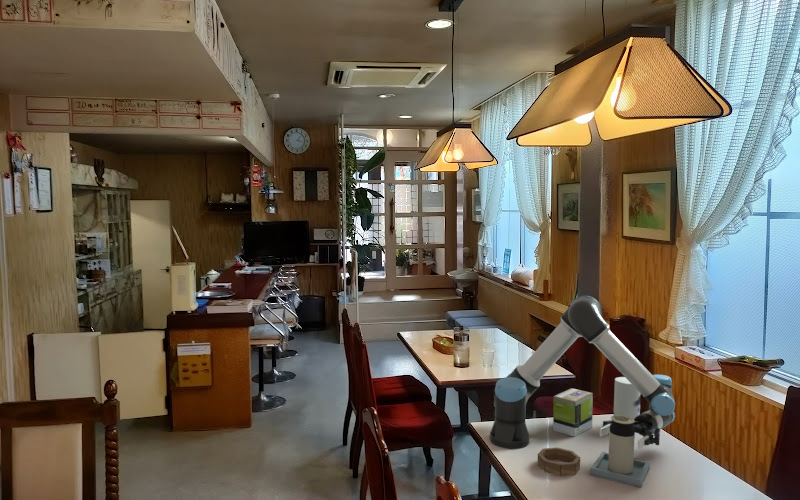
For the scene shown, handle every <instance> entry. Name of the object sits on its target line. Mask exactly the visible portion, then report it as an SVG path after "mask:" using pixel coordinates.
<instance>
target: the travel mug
mask: <svg viewBox="0 0 800 500" xmlns="http://www.w3.org/2000/svg"><path fill="white" fill-rule="evenodd" d="M610 419H611V420H612V424H611V425H610V433H609V438H608V439H609V441H608V453H609V461H608V468H609V469H610V470H611V471H613V472H615V473H619V474H630V473H632V472H633V461H634V459H635V453H634V452H635V436H636V435H635V434H636V433H635V429H634V427H633V423H634V419H633V418H631V417H629V416H625V415H614V414H613V415H612V416H611V417H610Z"/></svg>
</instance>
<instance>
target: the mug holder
mask: <svg viewBox="0 0 800 500" xmlns="http://www.w3.org/2000/svg"><path fill="white" fill-rule="evenodd" d="M555 460H556V461H555ZM557 461H561V462H557ZM536 465H537V466H538V467H539V468H540V470H541V471H542V472H544V473H546V474H551V475H555V476H559V477H568V476H575V475H577V473H578V472H579V471H580V470H581V456H579V455H578V454H576V453H575V452H574V451H573V450H571V449H570V450H569V449H565V448H561V447H548V448H547V447H545V448H542V449H541V450H540V451H539V452H538V453H537V464H536Z"/></svg>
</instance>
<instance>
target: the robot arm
mask: <svg viewBox="0 0 800 500" xmlns="http://www.w3.org/2000/svg"><path fill="white" fill-rule="evenodd" d="M602 315H603V309H602V306H601V304H600V303H599V301H598V300H597V299H596V298H594V297H593V296H590V295H581V296H578V297H576V298H574V300H573V301H572V302H571V304H570V305H569V306H568V308H567V309H566V310H565V311H564V313H562V314H561V316H560V323H559V324H558V325H557V326H556V327H555V328H554V330H553V331H552V332H551V333H550V334H549V335H548V337H546V339H545V340H544V341H543V342H542V343H541V344H540V345H539V347H538V348H536V350H534V352H533V353H532V355H531V356H530V357H529V358H528V359H527V360H526V361H525V362H524V363H523V364H522V365H516V367H515V368H514V369H513V370H512V371H511V373H509V374H508V375H507V376H506V377H503V378H499V379H498V380H497V381H496V383H495V388H494V393H495V394H494V395H495V396H494V397H495V398H494V421H493V424H492V427H491V430H490V431H489V432H490V433H489V441H490V442H491V443H492V444H493V445H495V446H497V447H501V448H506V449H520V448H525V447H527V446H528V445H529V444H530V433H529V430H528V427H527V424H526V412H527V411H526V409H527V403H528V400H529V398H530V397H531V396H532V395H533V394H534V393H535V392H536V391H537V389H538V388H539V387H540V385H541V379H542V378H543V377H544V376H545V375H546V374H547V372H548V371H549V370H550V369H551V368H552V367H553V366H554V365H555V364H556V362H557V361H558V360H559V359H560V358H561V357H562V356H563V355H564V354H565V352H567V350H568V349H569V348H570V347H571V346H572V345H573V344H574V343H575V342H576V341H577V339H578V338H584V340H586V341H587V343H589V344H593V345H594V346H595V347H596V348H597V349H598V350H599V351H600V352H601V353H602V354H603V356H605V358H606V359H608V361H610V363H611V364H612V365H613V366H614V367H615V368H616V369H617V370H618V371H619V373H621V374H622V376H623V377H625V378H626V379H627V380H628V381H629V382H630V383H631V384H632V385H633V386H634V387H635V388H636V389H637V390H638V391H639V392H640V393H641V394H640V395H641V396H643V398H644V399H645V400H646V402H648V410H647V411H644V412H642V413H640V415H638V416H637V417H635V419H634V423H633V427H634V429H635V434H638V435H640V436H642V438H639V439H638V440H637V449H638V450H641V449H643V448H644V447H647V446H650V445H653V444H655V446H660V437H661V429H664V428H667V427H668V426H670V425H671V423H672V422H673V421H675V418H676V413H675V412H674V411H675V407H676V401H675V399H674V395H673V391H672V390H673V380H672V378H671V376H668V375H665V374H652V373H651V372H650V371H649V370H648V369H647V368H646V367H645V366H644V365H643V363H642V362H641V361H640V360H638V358H637V357H635V355H634V354H633V353H632V352H631V351H630V350H629V349H628V348H627V347H626V346H625V345H624V344H623V343H622V342H621V340H619V339H618V337H616V335H615V334H614V333H613V332H612V331H611V330H610V325H609V324H608V323H607V322H606V320H605V318H603V316H602ZM611 424H612V419H611V420H604V421H602V426H601V427H600V428H599V434H598V435H599V437H601V438H602V437H604V436H605V435H608V434H610V425H611Z"/></svg>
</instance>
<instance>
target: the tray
mask: <svg viewBox="0 0 800 500" xmlns="http://www.w3.org/2000/svg"><path fill="white" fill-rule="evenodd" d="M608 461H609V452H606V451H601V453H600V455H599V456H598V457H597V459H596V460H595V462H594V463H593V464H592V465H591V467H590V476H593V477H597V478H601V479H605V480H609V481H614V482H617V483H621V484H624V485H630V486H633V487H636V488H640V489H641V488H642V486H643V484H644V482H645V479H646V477H647V475H648V473H649V472H650V467H651V465H650V464H651V463H650V462H649V461H645V460H641V459H636V458H634V461H633V472H632V473H630V474H619V473H615V472H613V471H611V470H610V469H609V468H608Z"/></svg>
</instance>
